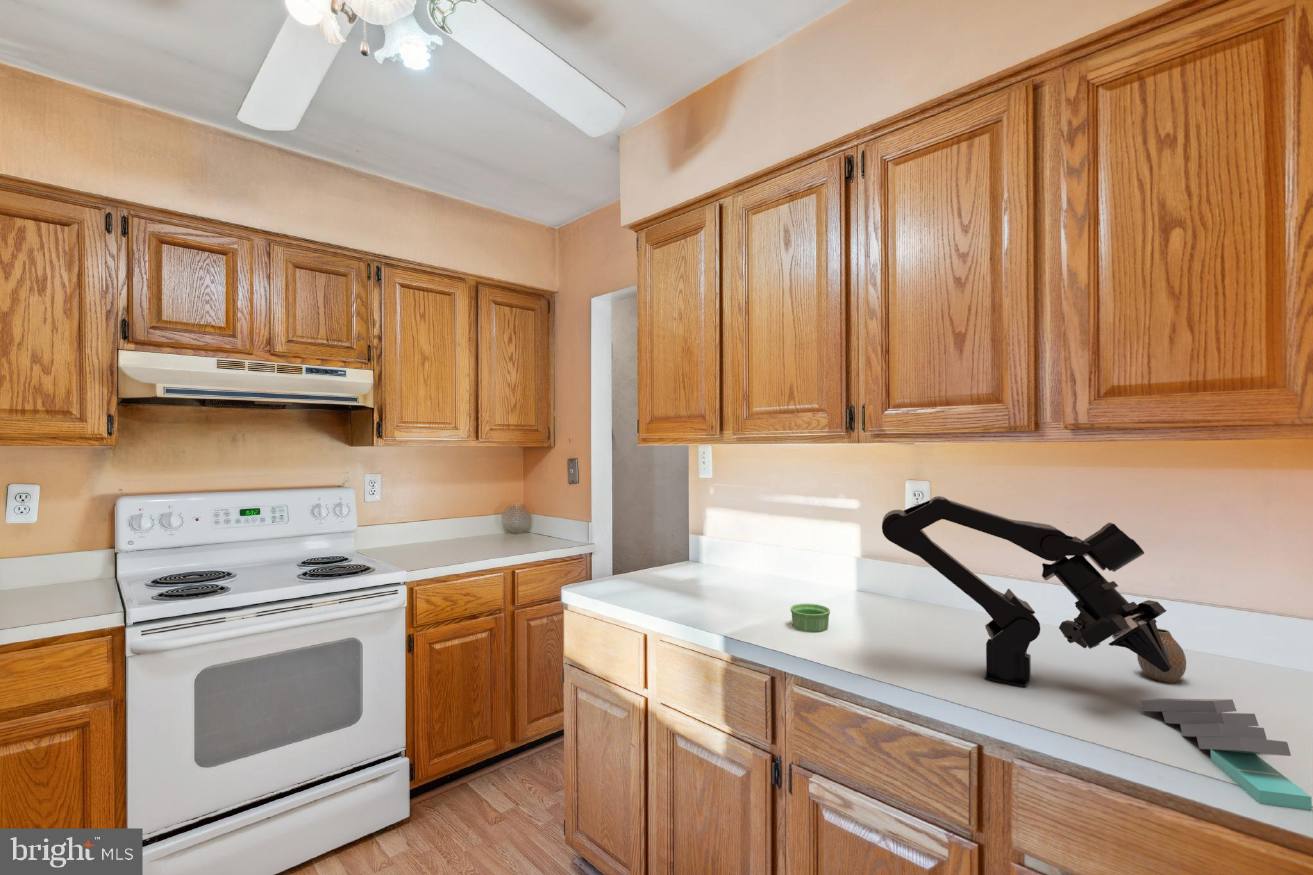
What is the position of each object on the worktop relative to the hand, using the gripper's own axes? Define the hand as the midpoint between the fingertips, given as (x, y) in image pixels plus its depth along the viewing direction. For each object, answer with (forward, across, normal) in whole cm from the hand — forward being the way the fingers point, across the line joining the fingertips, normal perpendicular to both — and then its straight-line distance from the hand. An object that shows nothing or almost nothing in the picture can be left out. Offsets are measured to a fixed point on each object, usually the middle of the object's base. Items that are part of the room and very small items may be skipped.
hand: (1168, 670), depth 96 cm
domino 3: (+8, +5, -1) cm, 10 cm away
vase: (+1, -17, -10) cm, 20 cm away
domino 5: (+12, +10, +3) cm, 15 cm away
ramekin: (-39, +14, -50) cm, 65 cm away
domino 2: (+6, +2, -3) cm, 7 cm away
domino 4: (+10, +8, +1) cm, 13 cm away
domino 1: (+3, +1, -6) cm, 6 cm away
